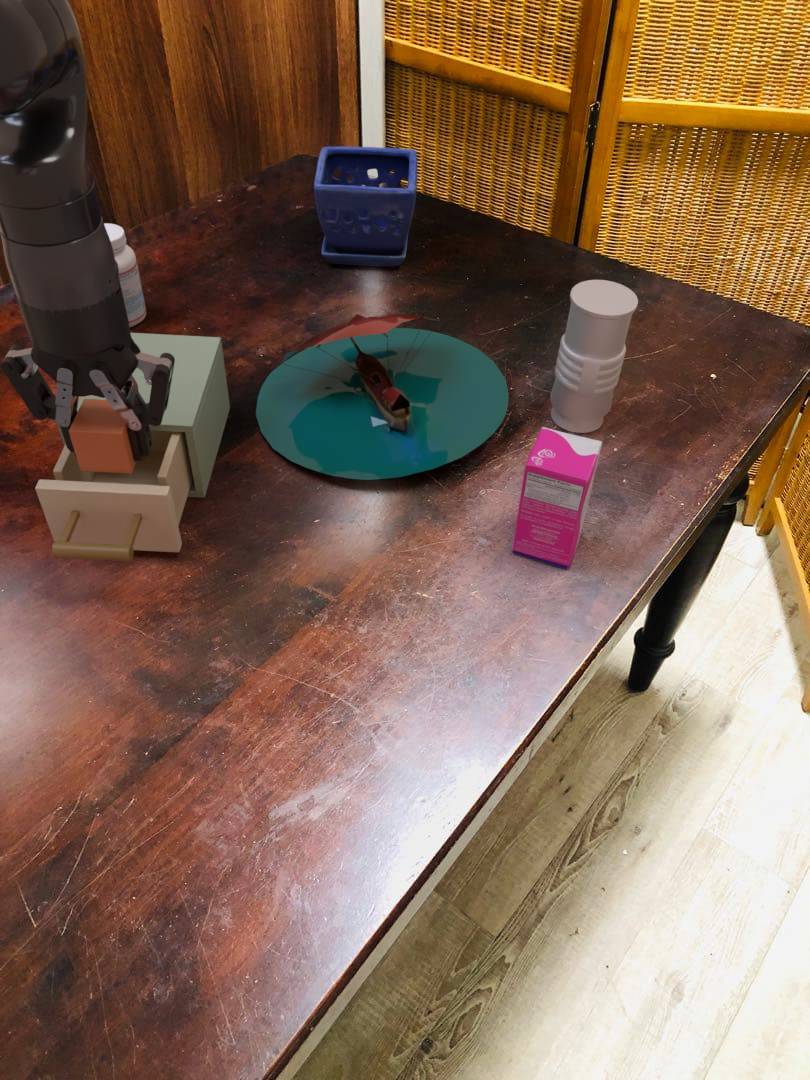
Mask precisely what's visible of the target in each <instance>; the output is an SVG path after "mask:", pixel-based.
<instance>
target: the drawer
mask: <svg viewBox="0 0 810 1080" xmlns="http://www.w3.org/2000/svg"><path fill="white" fill-rule="evenodd" d="M150 431H151V436H152V440H153V443H152V446H151V449H150V451H149V454H148V456H145V458H144V460H143V462H142V461H136V464H135V467H134V469H133V472H132V474H129V473H109V472H90V471H81V470H80V467H79V464H78V460H77V458H76V457H75V454H74V452H70V451H69V449H68V448H67V446H66V444H65V446H64V445H63V449H62V451H61V453H60V455H59V457H58V459H57V462H56V463H55V466H54V468H53V470H52V473H53V476H54V478H55V479H42V478H39V479H38V481H37V483H36V486H35V488H34V489H35V492H36V495H37V497H38V500H39V504H40V506H41V509H42V512H43V514H44V517H45V521H46V522H47V525H48V528H49V531H50V533H51V536H52V540H53V543H52V545H51V556H52V557H53V558H54V559H69V560H71V559H72V560H88V561H89V560H90V561H106V562H107V561H108V562H125V563H126V562H127V563H128V562H129V563H131V562H133V559H134V553H135V551H144V552H159V553H160V552H161V553H162V552H163V553H180V551H181V549H182V545H183V541H182V536H181V532H180V528H179V526H180V523H181V519H182V516H183V512H184V509H185V506H186V502H187V499H188V497H187V496H188V493H189V490H190V486H191V483H192V480H193V473H192V468H191V462H190V457H189V451H188V446H187V440H186V435H185V432H174V431H154V430H150Z"/></svg>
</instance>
